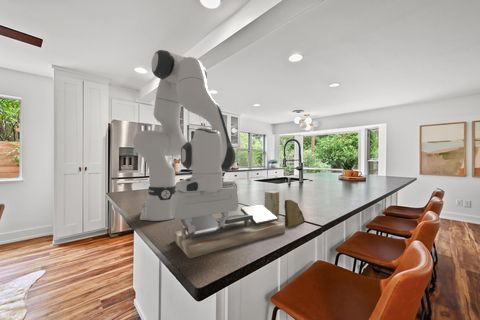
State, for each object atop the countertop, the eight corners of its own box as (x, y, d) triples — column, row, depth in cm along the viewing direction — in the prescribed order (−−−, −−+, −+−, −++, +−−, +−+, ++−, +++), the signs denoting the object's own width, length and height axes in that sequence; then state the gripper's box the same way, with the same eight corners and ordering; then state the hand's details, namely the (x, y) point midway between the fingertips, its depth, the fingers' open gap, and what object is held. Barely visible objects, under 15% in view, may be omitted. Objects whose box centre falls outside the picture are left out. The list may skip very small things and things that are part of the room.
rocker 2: (240, 210, 78) (241, 207, 78) (260, 206, 84) (261, 204, 83) (255, 225, 70) (256, 222, 70) (277, 220, 76) (277, 218, 76)
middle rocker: (213, 222, 72) (213, 218, 72) (237, 218, 77) (237, 214, 77) (227, 224, 64) (227, 219, 64) (253, 219, 69) (252, 215, 69)
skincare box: (272, 221, 88) (272, 193, 87) (263, 219, 90) (264, 192, 90) (279, 218, 93) (279, 191, 93) (271, 216, 95) (271, 190, 95)
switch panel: (174, 241, 66) (174, 221, 66) (260, 222, 86) (260, 206, 86) (189, 258, 55) (189, 234, 55) (284, 232, 75) (284, 214, 75)
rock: (300, 213, 92) (279, 210, 91) (308, 200, 87) (285, 197, 86) (307, 234, 84) (283, 232, 83) (315, 222, 79) (290, 219, 78)
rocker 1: (180, 220, 65) (181, 217, 65) (209, 216, 71) (209, 212, 71) (191, 239, 58) (192, 235, 57) (222, 232, 63) (223, 228, 63)
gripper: (232, 180, 69) (231, 221, 69) (169, 183, 57) (169, 232, 58) (242, 181, 64) (242, 226, 64) (176, 186, 52) (176, 240, 52)
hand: (207, 229), depth 60 cm, fingers open, 8 cm apart
